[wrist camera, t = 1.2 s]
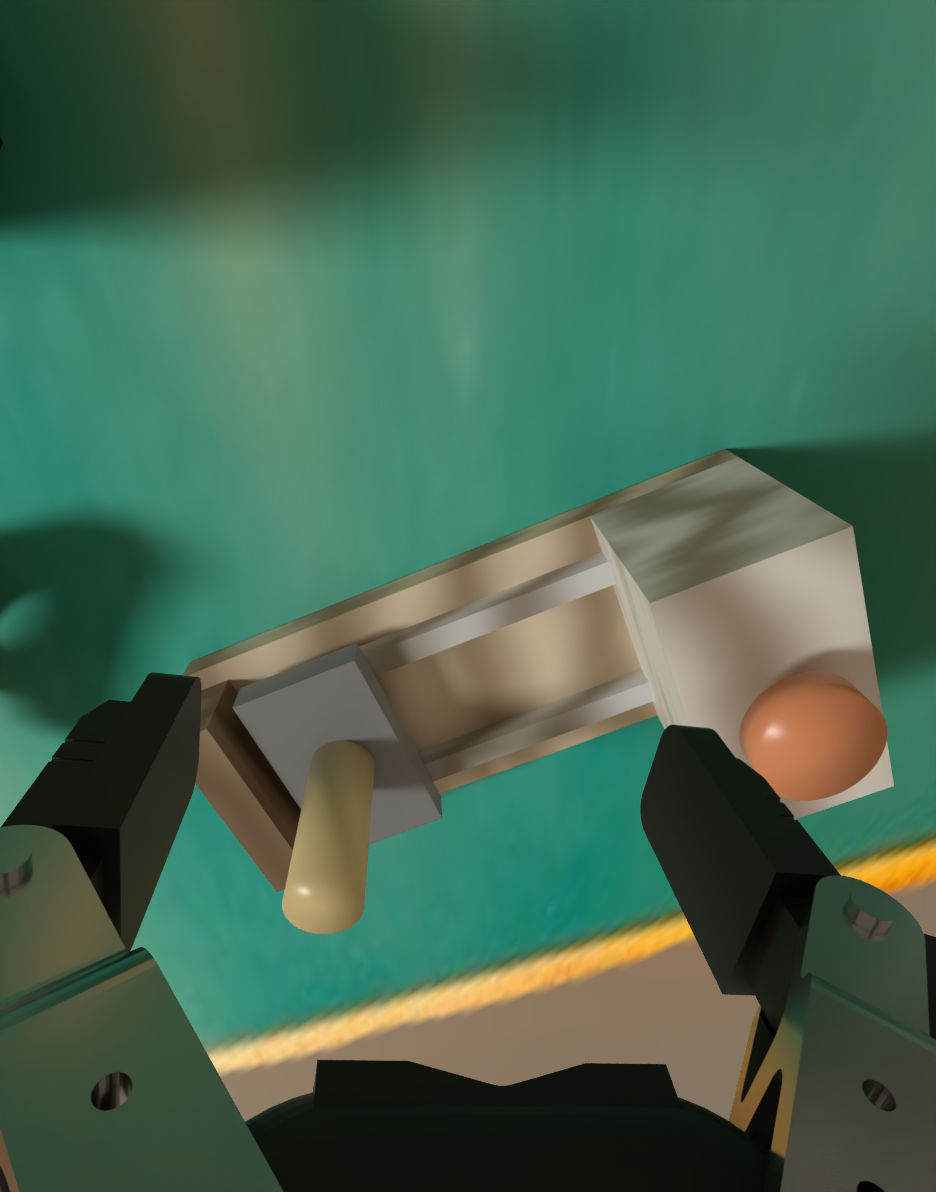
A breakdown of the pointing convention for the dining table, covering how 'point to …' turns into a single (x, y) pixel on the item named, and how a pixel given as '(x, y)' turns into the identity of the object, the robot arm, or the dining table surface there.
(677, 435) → the dining table surface
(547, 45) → the dining table surface
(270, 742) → the carriage
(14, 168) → the dining table surface
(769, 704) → the button
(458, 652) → the rail board
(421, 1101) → the robot arm
